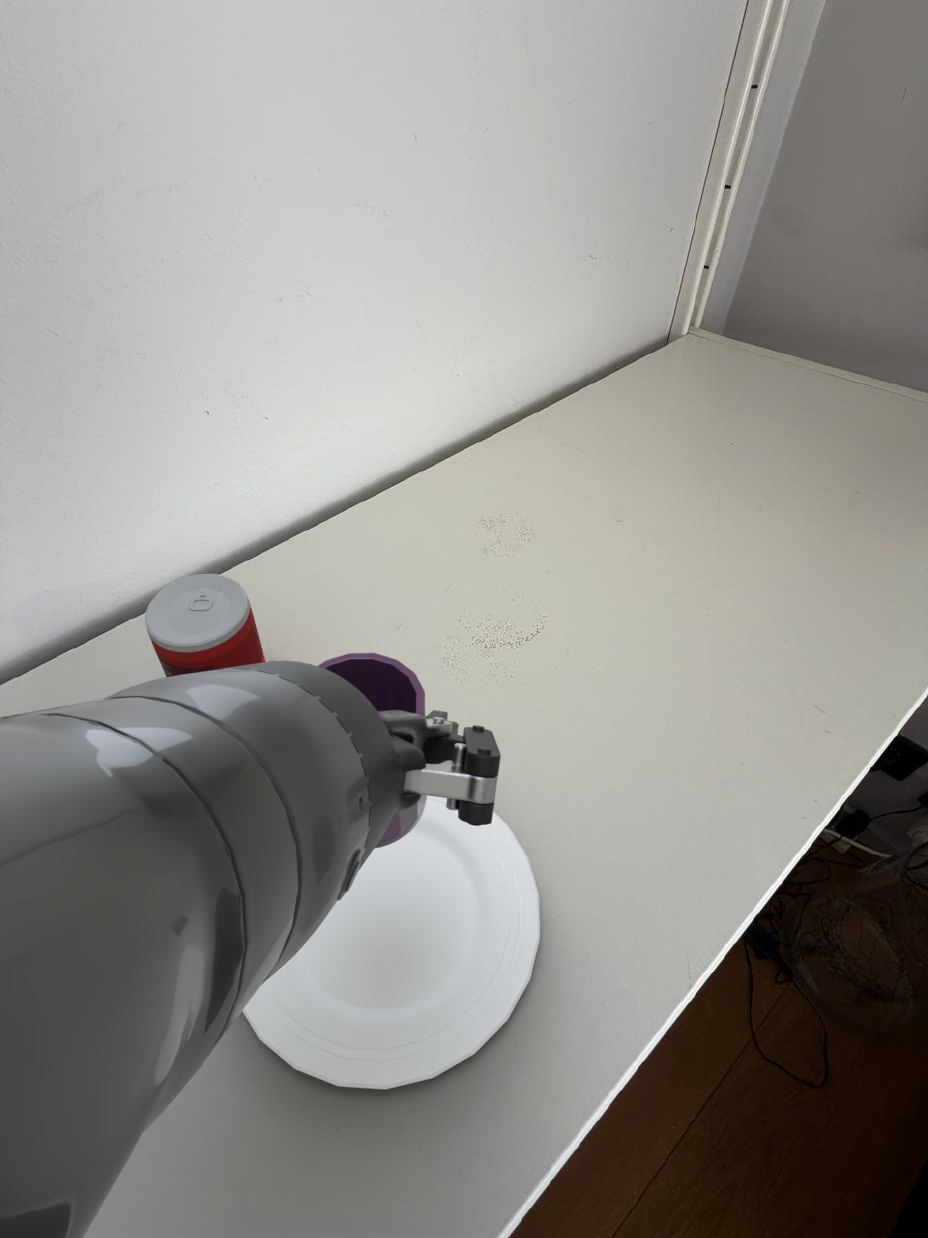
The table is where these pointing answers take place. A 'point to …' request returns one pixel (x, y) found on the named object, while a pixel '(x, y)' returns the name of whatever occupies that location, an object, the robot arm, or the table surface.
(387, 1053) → the plate
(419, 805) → the cup
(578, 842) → the table surface
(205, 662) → the canned food
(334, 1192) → the table surface
